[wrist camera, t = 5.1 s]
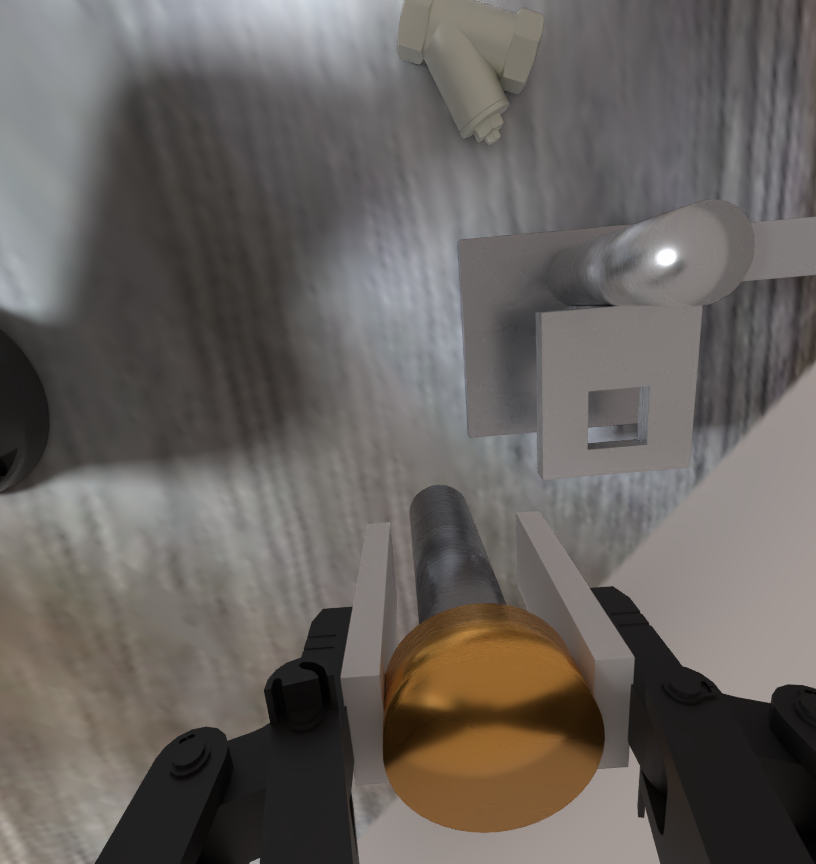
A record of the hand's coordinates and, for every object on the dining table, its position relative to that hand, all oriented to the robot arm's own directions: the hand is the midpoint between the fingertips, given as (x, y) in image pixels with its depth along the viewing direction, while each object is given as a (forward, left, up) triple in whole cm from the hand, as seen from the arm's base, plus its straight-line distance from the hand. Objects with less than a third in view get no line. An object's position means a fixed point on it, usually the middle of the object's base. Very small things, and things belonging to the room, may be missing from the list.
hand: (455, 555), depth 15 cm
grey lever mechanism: (+15, +5, -21) cm, 26 cm away
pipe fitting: (+4, +22, -21) cm, 31 cm away
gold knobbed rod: (0, 0, -4) cm, 4 cm away
